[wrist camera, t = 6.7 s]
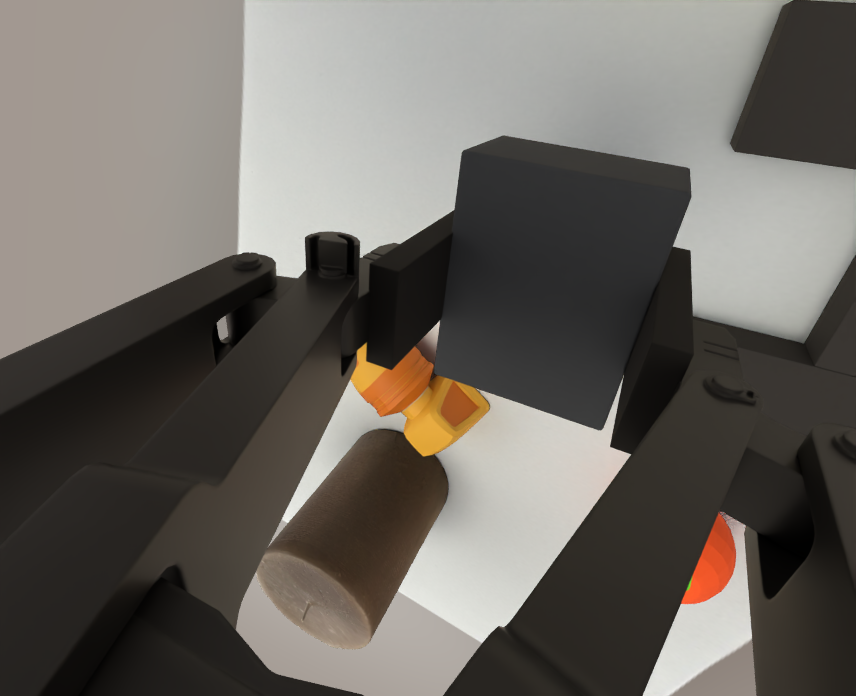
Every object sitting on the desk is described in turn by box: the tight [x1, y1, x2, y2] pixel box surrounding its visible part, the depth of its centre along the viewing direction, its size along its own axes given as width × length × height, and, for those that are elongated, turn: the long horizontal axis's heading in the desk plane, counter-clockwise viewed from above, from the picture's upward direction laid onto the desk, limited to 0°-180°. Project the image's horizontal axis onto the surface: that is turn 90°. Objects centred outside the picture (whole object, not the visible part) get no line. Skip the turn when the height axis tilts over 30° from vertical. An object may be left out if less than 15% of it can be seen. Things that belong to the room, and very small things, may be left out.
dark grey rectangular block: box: [434, 136, 691, 430], centre depth 15 cm, size 7×6×4 cm
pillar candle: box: [256, 430, 448, 649], centre depth 39 cm, size 10×10×15 cm
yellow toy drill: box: [350, 343, 489, 456], centre depth 36 cm, size 5×6×12 cm
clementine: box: [681, 513, 736, 604], centre depth 31 cm, size 8×7×7 cm
